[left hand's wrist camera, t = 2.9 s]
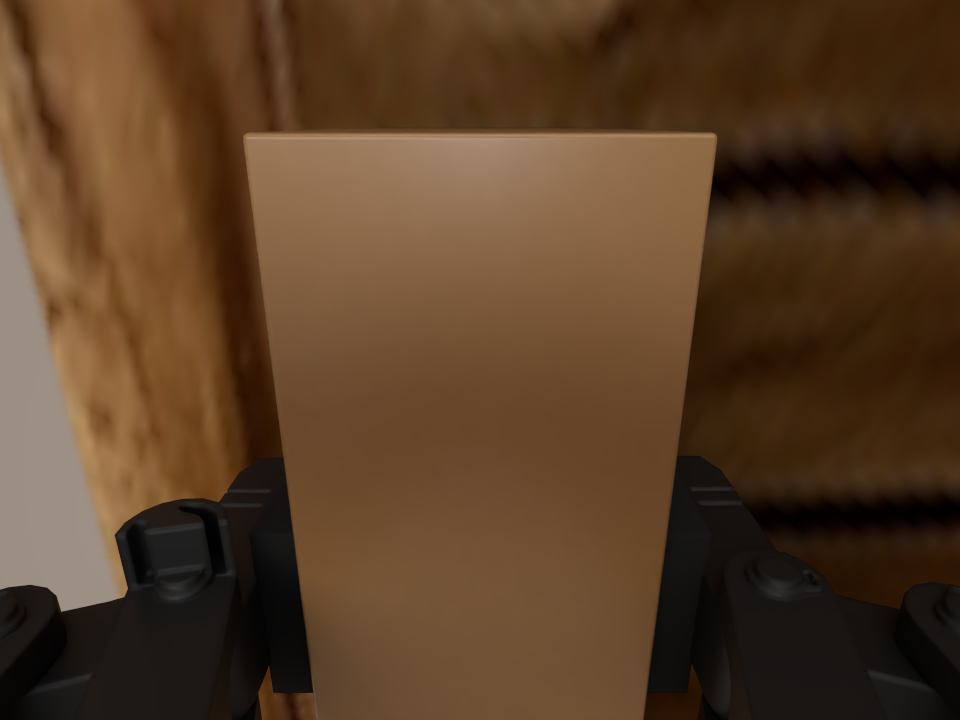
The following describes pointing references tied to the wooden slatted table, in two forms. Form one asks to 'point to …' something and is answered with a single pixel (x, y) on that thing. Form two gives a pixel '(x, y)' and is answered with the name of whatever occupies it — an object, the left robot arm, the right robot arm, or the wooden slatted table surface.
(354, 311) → the beam
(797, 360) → the wooden slatted table surface
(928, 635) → the left robot arm
